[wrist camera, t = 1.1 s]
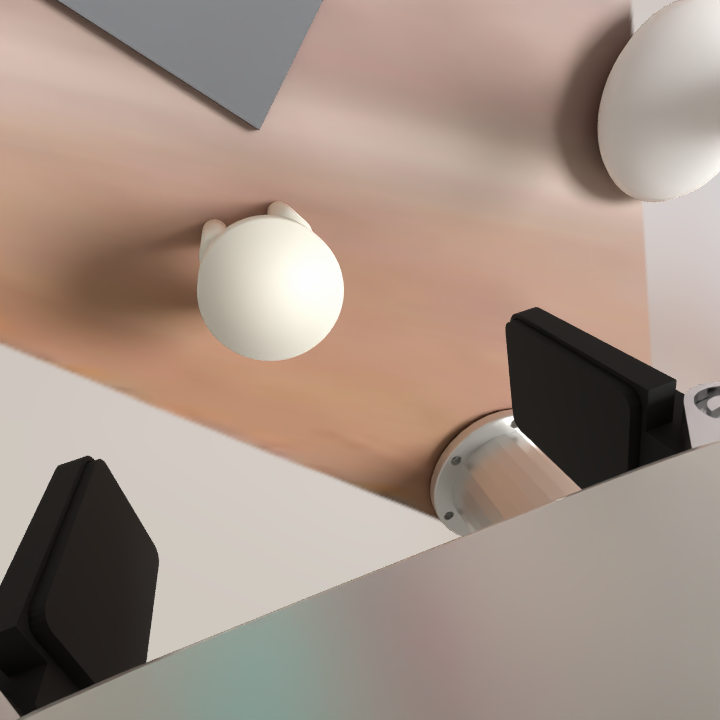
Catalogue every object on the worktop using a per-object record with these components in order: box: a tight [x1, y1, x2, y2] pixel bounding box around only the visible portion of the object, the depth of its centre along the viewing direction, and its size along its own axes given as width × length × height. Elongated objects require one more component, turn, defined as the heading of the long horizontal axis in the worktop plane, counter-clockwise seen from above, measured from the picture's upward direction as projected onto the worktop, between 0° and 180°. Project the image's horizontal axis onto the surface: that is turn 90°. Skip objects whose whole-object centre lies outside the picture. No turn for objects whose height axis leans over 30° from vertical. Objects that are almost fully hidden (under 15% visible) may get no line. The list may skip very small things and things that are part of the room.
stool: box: [197, 201, 344, 361], centre depth 25 cm, size 6×6×8 cm
